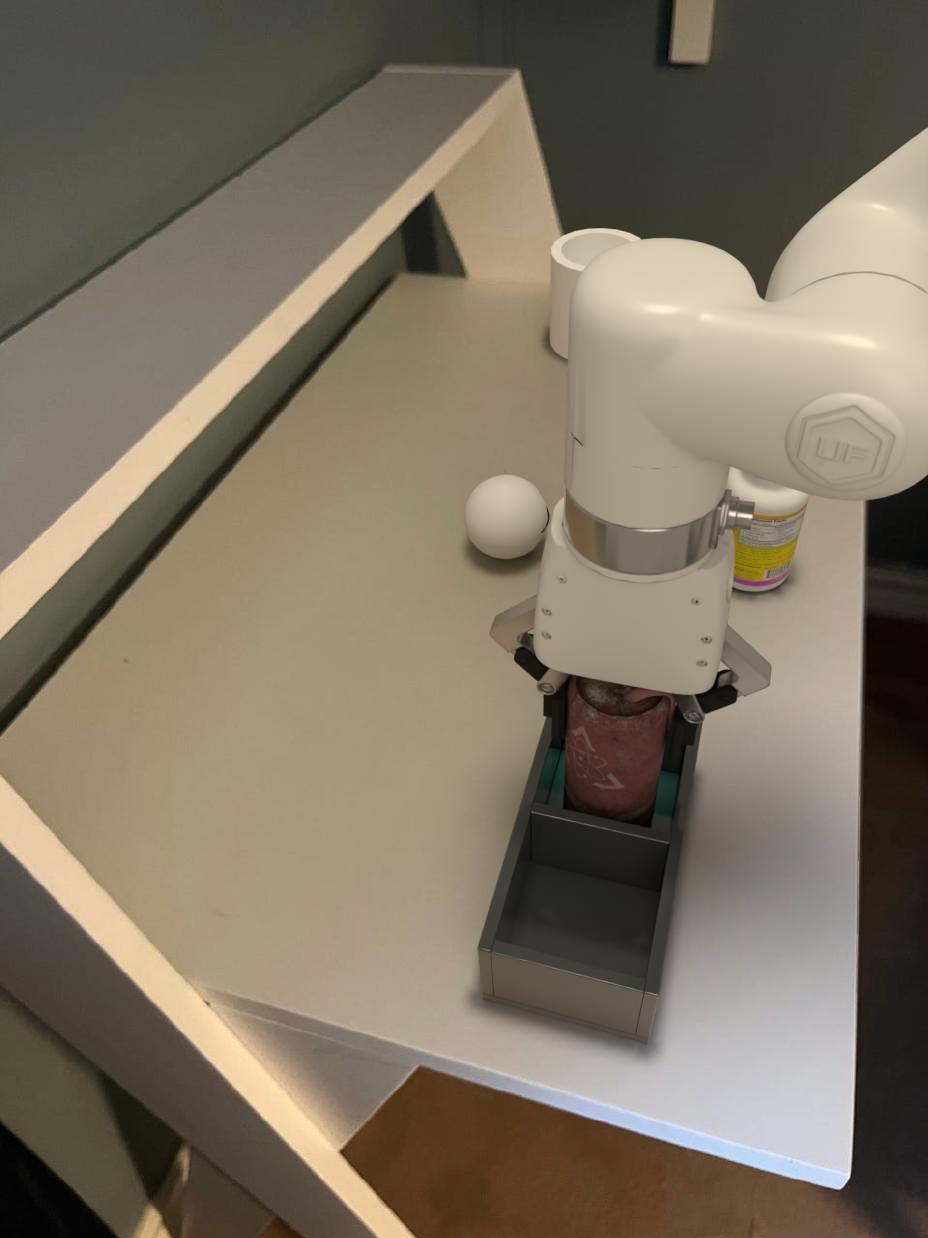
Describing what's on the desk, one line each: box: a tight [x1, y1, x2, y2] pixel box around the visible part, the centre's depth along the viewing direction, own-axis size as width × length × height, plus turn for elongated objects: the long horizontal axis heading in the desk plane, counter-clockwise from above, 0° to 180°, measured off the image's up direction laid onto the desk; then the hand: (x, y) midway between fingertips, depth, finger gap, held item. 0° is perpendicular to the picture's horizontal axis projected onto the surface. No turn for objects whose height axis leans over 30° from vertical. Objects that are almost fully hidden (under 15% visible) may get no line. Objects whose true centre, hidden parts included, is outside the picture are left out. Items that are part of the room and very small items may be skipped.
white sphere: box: [463, 470, 551, 560], centre depth 85 cm, size 10×7×7 cm
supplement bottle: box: [725, 466, 810, 592], centre depth 78 cm, size 7×7×13 cm
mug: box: [549, 227, 642, 360], centre depth 105 cm, size 14×10×11 cm
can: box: [563, 674, 676, 828], centre depth 61 cm, size 6×6×14 cm
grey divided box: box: [477, 717, 704, 1044], centre depth 61 cm, size 10×19×7 cm, turn 163°
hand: (618, 730), depth 59 cm, fingers closed on can, 6 cm apart
